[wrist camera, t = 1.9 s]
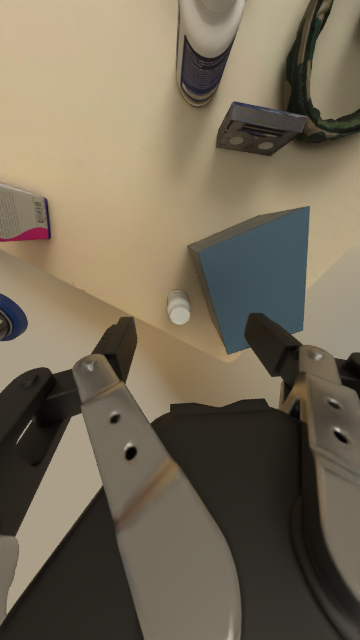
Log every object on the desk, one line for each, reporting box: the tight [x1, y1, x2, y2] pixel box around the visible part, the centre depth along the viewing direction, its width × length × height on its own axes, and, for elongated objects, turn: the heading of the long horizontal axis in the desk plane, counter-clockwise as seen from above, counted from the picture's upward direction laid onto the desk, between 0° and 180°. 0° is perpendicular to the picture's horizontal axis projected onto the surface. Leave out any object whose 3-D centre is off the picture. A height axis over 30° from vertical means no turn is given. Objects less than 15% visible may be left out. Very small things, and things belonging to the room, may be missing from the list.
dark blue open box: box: [188, 207, 303, 346], centre depth 26 cm, size 17×13×10 cm
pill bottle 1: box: [167, 290, 191, 325], centre depth 29 cm, size 4×4×8 cm
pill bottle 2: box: [176, 0, 245, 106], centre depth 14 cm, size 5×5×10 cm
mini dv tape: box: [216, 101, 307, 156], centre depth 19 cm, size 8×2×6 cm, turn 85°
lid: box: [197, 206, 310, 355], centre depth 20 cm, size 18×13×5 cm
